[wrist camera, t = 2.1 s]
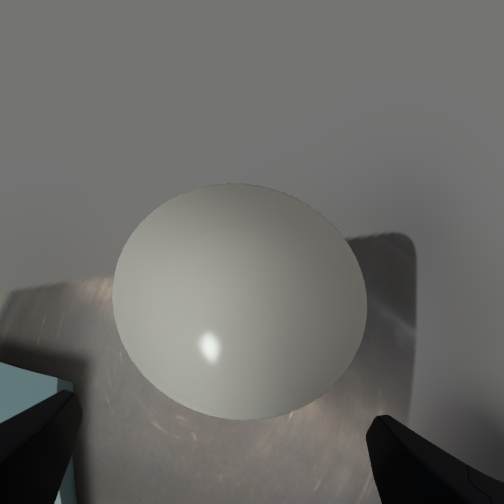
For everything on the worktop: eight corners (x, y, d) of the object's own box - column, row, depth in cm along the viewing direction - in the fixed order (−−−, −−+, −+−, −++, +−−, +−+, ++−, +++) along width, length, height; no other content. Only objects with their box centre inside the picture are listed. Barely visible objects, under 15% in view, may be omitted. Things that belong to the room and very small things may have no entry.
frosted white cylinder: (270, 411, 16) (383, 402, 5) (173, 411, 16) (100, 409, 5) (265, 324, 19) (341, 192, 8) (176, 322, 19) (137, 180, 8)
